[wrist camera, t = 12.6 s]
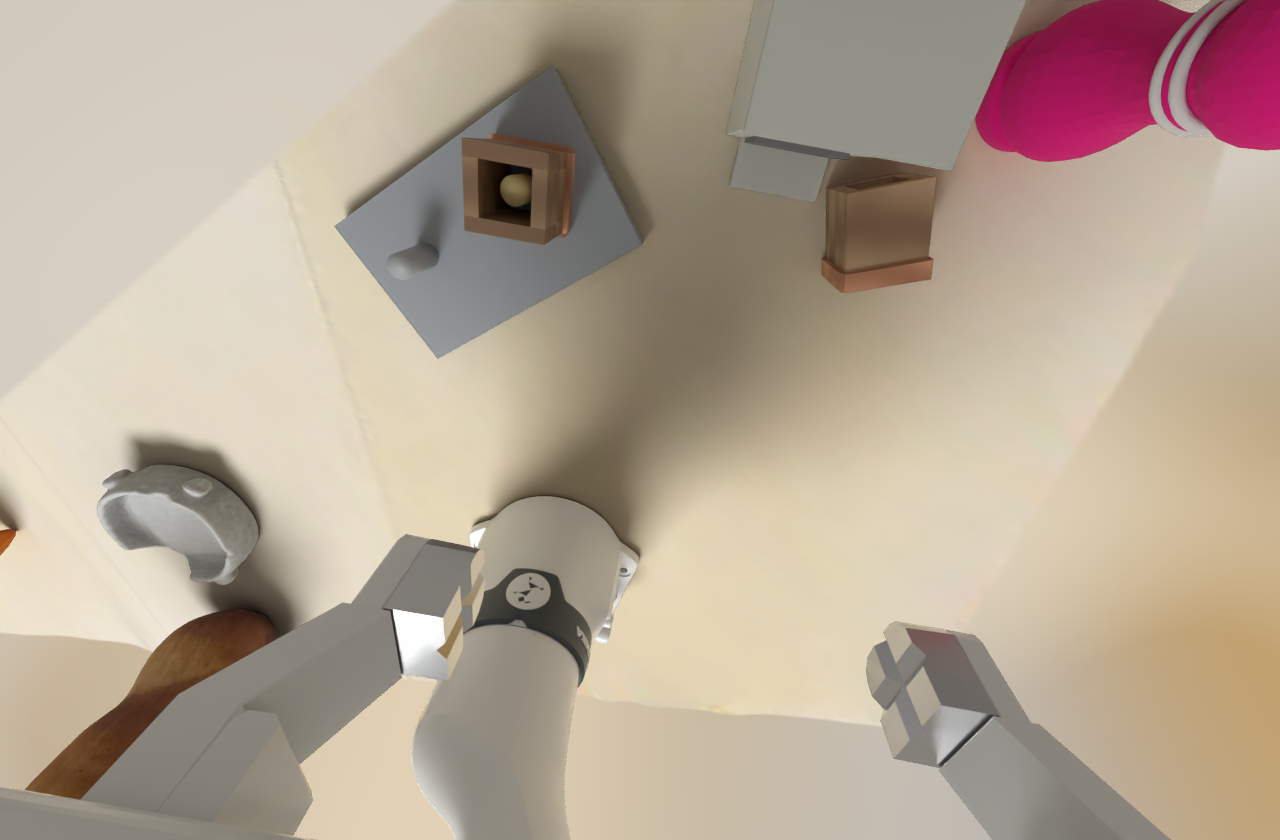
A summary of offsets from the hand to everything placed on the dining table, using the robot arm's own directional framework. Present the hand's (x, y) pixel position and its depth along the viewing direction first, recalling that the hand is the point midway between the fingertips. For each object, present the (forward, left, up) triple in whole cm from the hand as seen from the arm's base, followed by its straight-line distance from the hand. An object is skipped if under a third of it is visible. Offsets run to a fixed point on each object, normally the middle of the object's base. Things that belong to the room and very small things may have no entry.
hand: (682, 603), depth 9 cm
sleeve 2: (+5, -12, -31) cm, 34 cm away
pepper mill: (+14, -19, -31) cm, 39 cm away
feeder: (+12, -5, -31) cm, 34 cm away
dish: (-36, +49, -32) cm, 68 cm away
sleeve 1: (+4, +12, -30) cm, 32 cm away
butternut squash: (-57, +48, -31) cm, 81 cm away
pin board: (0, +15, -31) cm, 35 cm away
